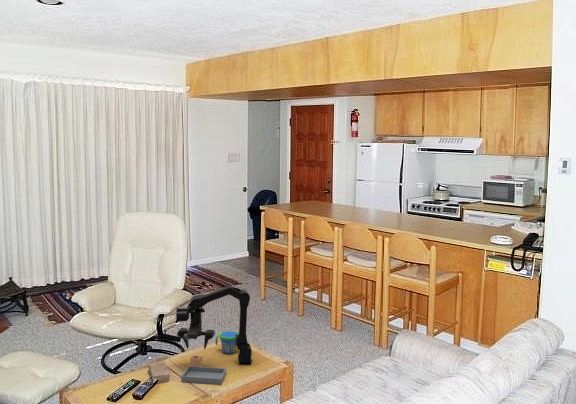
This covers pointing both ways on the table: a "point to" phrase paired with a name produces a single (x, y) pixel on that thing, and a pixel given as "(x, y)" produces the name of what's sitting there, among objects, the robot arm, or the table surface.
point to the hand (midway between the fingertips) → (196, 348)
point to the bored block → (196, 360)
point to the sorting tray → (204, 375)
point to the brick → (159, 371)
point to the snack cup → (227, 341)
